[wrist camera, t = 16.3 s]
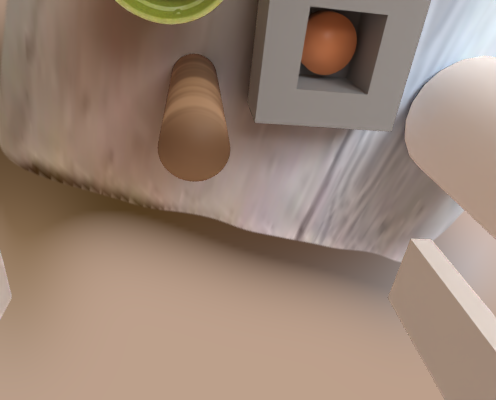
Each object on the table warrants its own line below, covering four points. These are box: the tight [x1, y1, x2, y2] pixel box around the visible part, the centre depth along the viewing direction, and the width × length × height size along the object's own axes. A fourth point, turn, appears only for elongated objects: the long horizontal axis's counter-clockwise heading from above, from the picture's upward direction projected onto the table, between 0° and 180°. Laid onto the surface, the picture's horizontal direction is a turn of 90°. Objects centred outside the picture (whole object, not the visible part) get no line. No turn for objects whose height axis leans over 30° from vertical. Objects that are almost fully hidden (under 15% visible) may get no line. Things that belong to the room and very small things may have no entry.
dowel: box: [158, 54, 230, 181], centre depth 30 cm, size 4×4×16 cm
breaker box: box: [247, 0, 431, 132], centre depth 34 cm, size 12×12×6 cm
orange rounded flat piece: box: [301, 10, 357, 75], centre depth 35 cm, size 5×5×2 cm
